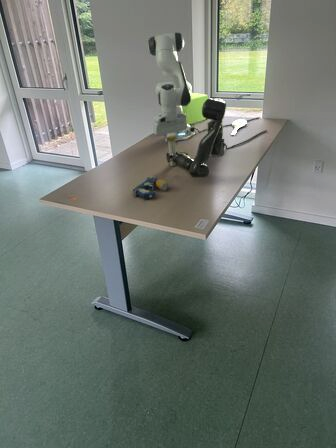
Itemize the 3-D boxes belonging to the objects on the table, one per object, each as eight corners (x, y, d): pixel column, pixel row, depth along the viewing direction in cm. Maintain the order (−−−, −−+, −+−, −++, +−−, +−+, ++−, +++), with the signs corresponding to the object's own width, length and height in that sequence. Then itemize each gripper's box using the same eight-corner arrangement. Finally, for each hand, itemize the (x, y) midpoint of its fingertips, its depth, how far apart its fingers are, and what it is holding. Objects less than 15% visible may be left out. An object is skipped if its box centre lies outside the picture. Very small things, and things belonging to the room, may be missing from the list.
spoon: (240, 137, 241) (240, 135, 240) (225, 137, 245) (225, 134, 244) (248, 121, 267) (248, 119, 266) (234, 121, 271) (234, 118, 270)
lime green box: (191, 115, 302) (190, 88, 290) (208, 118, 288) (208, 90, 276) (170, 121, 289) (168, 93, 277) (187, 125, 275) (185, 95, 263)
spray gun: (173, 183, 178) (149, 181, 184) (172, 176, 176) (148, 174, 182) (155, 202, 162) (129, 198, 169) (154, 194, 160) (128, 191, 167)
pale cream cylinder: (171, 166, 201) (169, 139, 192) (169, 164, 204) (166, 137, 195) (178, 164, 202) (176, 137, 193) (175, 162, 205) (173, 136, 196)
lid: (176, 138, 196) (176, 135, 195) (174, 141, 192) (174, 137, 191) (168, 138, 197) (168, 135, 196) (166, 141, 193) (166, 137, 192)
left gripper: (183, 111, 194) (184, 135, 201) (151, 118, 187) (153, 142, 194) (188, 113, 189) (189, 137, 196) (155, 120, 182) (158, 145, 189)
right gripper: (194, 152, 189) (180, 144, 202) (172, 158, 184) (159, 150, 197) (195, 164, 193) (181, 156, 206) (173, 170, 188) (160, 162, 201)
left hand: (171, 140), depth 195 cm, fingers closed on lid, 4 cm apart
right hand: (170, 153), depth 202 cm, fingers closed on pale cream cylinder, 4 cm apart
